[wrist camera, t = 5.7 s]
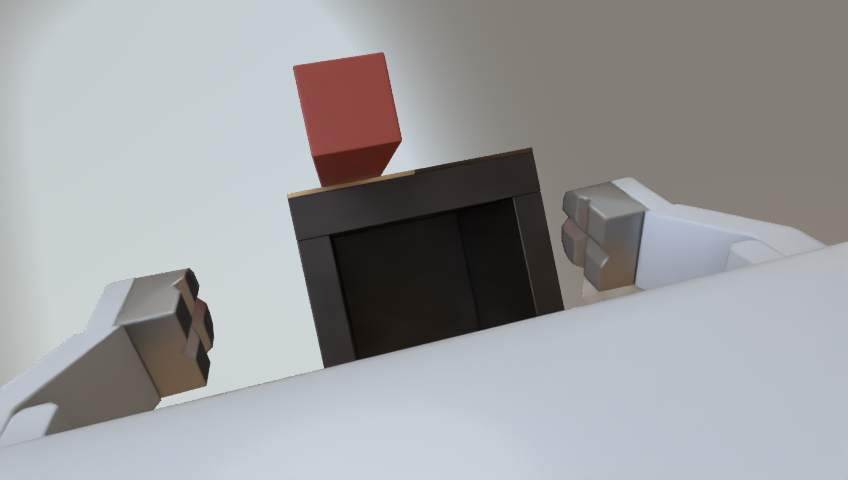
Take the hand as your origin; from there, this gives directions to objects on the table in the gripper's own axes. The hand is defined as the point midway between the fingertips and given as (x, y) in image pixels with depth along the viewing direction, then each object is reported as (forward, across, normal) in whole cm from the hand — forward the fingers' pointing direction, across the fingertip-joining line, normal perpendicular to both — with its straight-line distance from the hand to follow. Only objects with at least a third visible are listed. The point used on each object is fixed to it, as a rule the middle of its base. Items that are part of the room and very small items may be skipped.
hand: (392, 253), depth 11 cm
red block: (+15, 0, +5) cm, 16 cm away
